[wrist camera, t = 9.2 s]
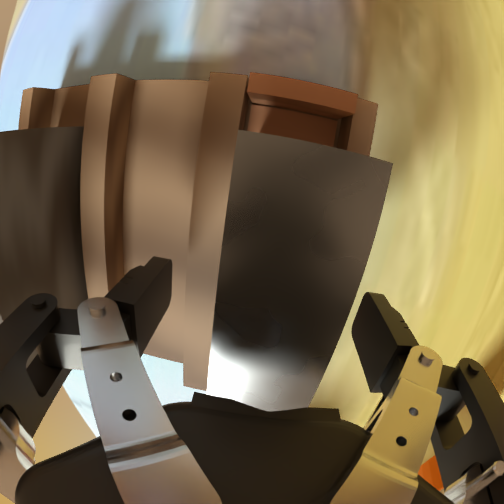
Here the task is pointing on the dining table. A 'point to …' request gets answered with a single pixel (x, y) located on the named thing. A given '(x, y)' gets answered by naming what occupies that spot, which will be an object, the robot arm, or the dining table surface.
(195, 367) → the rack
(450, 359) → the dining table surface
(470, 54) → the dining table surface
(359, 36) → the dining table surface
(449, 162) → the dining table surface
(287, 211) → the panel
